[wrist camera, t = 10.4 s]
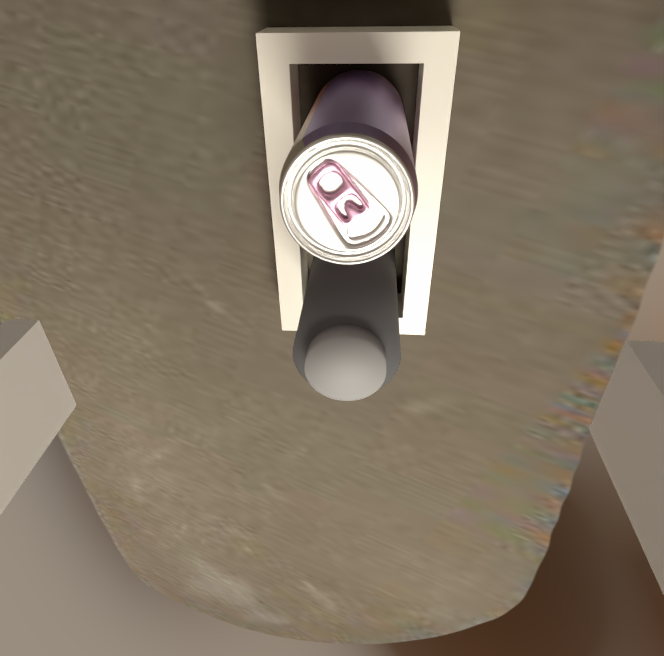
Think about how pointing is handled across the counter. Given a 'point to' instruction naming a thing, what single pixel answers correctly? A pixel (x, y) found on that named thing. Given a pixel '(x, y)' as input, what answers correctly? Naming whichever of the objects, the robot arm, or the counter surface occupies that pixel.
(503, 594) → the counter surface
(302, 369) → the single round plug
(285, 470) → the counter surface
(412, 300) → the white divided tray
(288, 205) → the beverage can
